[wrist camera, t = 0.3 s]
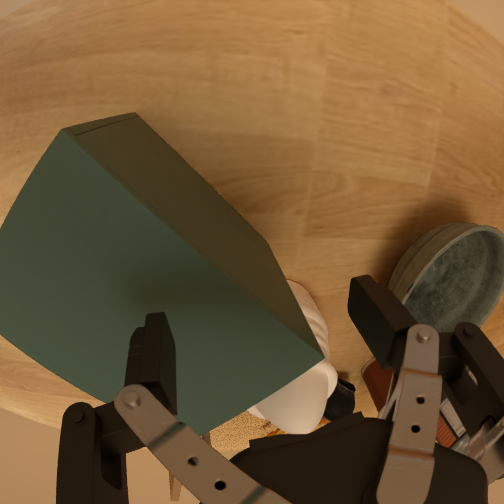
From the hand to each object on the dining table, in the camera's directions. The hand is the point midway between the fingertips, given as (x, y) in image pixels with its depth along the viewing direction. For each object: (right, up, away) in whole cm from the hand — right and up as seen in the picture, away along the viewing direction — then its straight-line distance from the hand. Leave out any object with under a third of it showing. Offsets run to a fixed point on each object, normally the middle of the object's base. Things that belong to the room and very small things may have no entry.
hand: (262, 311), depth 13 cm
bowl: (+24, +1, +27) cm, 36 cm away
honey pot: (+1, -6, +26) cm, 27 cm away
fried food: (+8, -24, +37) cm, 45 cm away
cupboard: (-10, +5, +18) cm, 21 cm away
